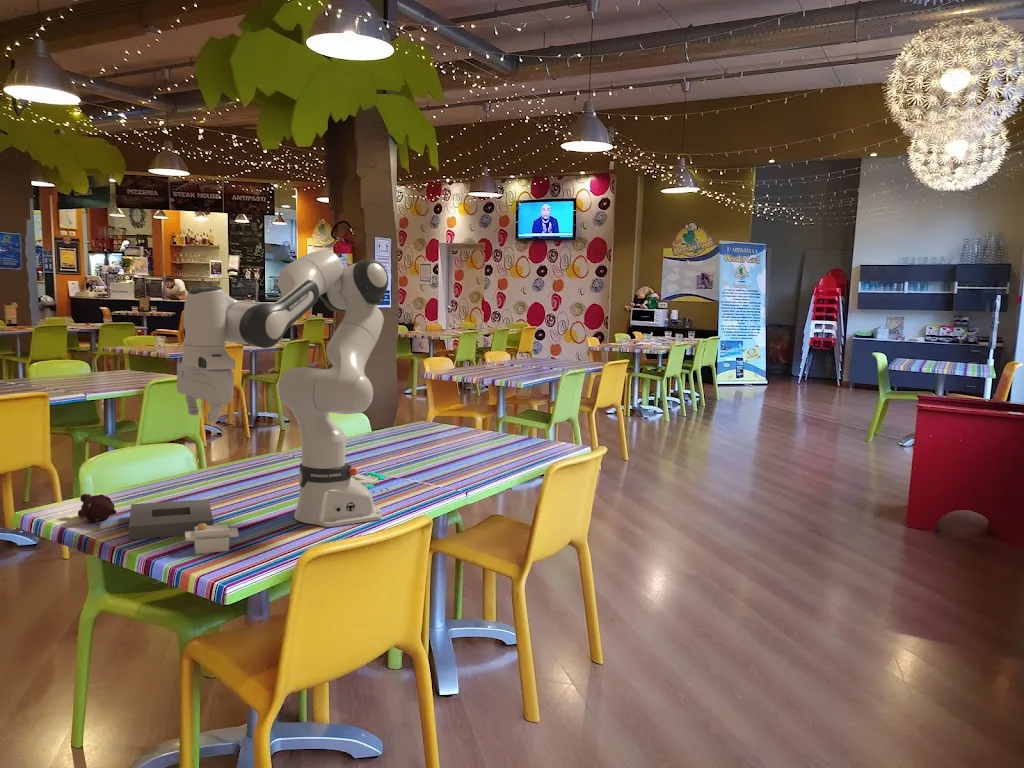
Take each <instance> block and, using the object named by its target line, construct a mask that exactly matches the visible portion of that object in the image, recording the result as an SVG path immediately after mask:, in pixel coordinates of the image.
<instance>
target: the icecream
mask: <svg viewBox="0 0 1024 768" xmlns="http://www.w3.org/2000/svg"><path fill="white" fill-rule="evenodd" d="M80 502H82V505H81V509H79V510H78V511H77V516H78V517H80V518H85V519H86V520H87V521H89V522H93V523H95V524H98V523H103V522H106V521H107V520H108V519H109V518H110V517H111V516H113V515H115V514H117V510H116V509H115V504H114V502H113V501H112V499H111V498H110V497H109V496H107V495H104V494H101V493H100V494H96V495H95V494H94V495H91V494H90V493H84V494H81V495H80Z"/></svg>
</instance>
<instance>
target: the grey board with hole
mask: <svg viewBox="0 0 1024 768" xmlns="http://www.w3.org/2000/svg"><path fill="white" fill-rule="evenodd" d="M129 514H130V515H129V521H128V541H131V539H136V540H144V539H147V538H148V539H156V538H155V537H160V538H169V537H170V536H172V537H181V536H184V537H185V532H188V531H195V527H198V524H201V523H205V524H207V526H211V525H214V517H213V512H212V509H211V503H210V499H206V498H205V499H191V500H176V501H160V502H159V501H158V502H145V503H131V505H130V512H129ZM166 536H168V537H166ZM148 539H147V540H148Z"/></svg>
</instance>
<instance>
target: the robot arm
mask: <svg viewBox="0 0 1024 768" xmlns="http://www.w3.org/2000/svg"><path fill="white" fill-rule="evenodd" d="M277 279H278V280H277V284H278V288H279V291H280V293H281V296H282V297H281V298H279V299H278V300H277V301H276V302H273V303H249V302H243V301H241V302H239V300H238V299H235V298H233V297H231V296H230V295H228V294H227V293H226V292H225V291H224V289H223V287H220V286H215V285H207V286H206V285H205V286H204V285H203V286H202V285H201V286H196V287H192V288H191V289H190V290H188V291H187V294H186V296H185V299H184V300H185V301H184V305H183V306H184V307H183V328H184V339H183V341H182V342H183V343H182V358H181V362H180V363H178V364H179V365H178V366H177V374H176V390H177V392H178V393H179V394H183V395H185V402H186V404H187V413H188V415H190V416H198V415H199V407H198V406H197V399H198V400H201V401H206V402H209V408H210V409H209V413H207V421H209V422H211V423H215V422H216V423H217V422H218V421H219V414H220V411H221V409H222V405H225V404H230V403H231V402H232V400H233V397H234V382H235V376H234V372H233V370H235V369H236V360H235V359H234V358H233V357H232V356H231V355H230V354H229V353H228V352H227V351H226V342H229V343H236V344H242V345H249V346H253V347H256V348H257V347H258V348H262V349H268V348H272V347H274V346H275V345H277V344H278V343H279V342H280V340H281V339H282V338H283V336H284V335H285V333H286V332H287V331H288V329H289V328H291V326H292V325H293V324H294V323H296V321H298V320H299V319H300V318H301V317H302V316H304V315H305V314H306V313H307V312H308V311H309V310H310V309H312V307H314V306H315V304H316V303H317V302H318V301H319V299H320V300H321V303H323V305H324V306H325V308H327V309H328V310H330V311H331V312H335V313H339V312H340V313H341V312H345V313H344V317H343V319H342V320H341V322H340V324H338V326H337V328H336V330H335V332H334V333H333V334H332V336H331V338H330V340H329V342H328V343H327V345H326V356H327V359H328V361H329V362H330V363H331V365H332V367H330V368H319V367H318V368H317V367H310V366H309V367H308V366H303V367H302V366H301V367H293V368H289V369H287V370H285V372H283V374H282V375H281V377H280V379H279V381H278V385H277V386H278V387H277V389H278V395H279V397H280V400H281V401H282V402H283V403H284V404H285V405H286V406H287V407H288V408H289V409H290V411H291V412H292V414H293V416H294V417H295V420H296V422H297V425H298V428H299V431H300V439H301V463H299V470H298V471H299V472H298V483H299V495H298V500H297V505H296V509H295V512H294V514H293V518H294V519H295V520H296V521H298V522H301V523H304V524H311V525H317V526H321V527H323V528H324V527H325V528H332V527H340V526H346V525H352V524H360V523H365V522H373V521H379V520H380V518H381V519H382V517H383V513H382V510H381V508H380V507H379V506H377V505H376V504H374V499H373V495H372V493H370V491H369V490H368V489H367V488H366V487H365V486H364V485H362V484H361V483H360V482H358V481H357V480H356V479H354V478H353V477H352V476H355V475H356V474H357V472H358V470H359V469H357V468H356V467H355V466H353V465H352V464H349V463H347V462H346V453H347V452H346V447H347V445H346V444H347V437H346V434H345V432H344V431H343V430H342V429H341V428H340V427H339V425H338V426H337V425H336V423H335V422H334V421H333V419H332V417H331V415H330V413H333V414H341V415H352V414H361V413H364V412H365V411H366V410H368V408H369V407H370V405H371V404H372V401H373V397H374V387H373V385H372V382H371V381H370V378H368V376H366V373H365V368H366V364H367V362H368V360H369V358H370V355H371V353H372V352H373V350H374V348H375V347H376V344H377V342H378V341H379V338H380V335H381V332H382V330H383V325H384V321H385V320H384V319H385V318H384V315H383V312H382V311H381V310H380V309H379V308H380V307H378V305H380V304H382V303H383V302H384V300H385V299H386V293H387V290H388V285H389V276H388V272H387V270H386V268H385V266H384V265H383V264H382V263H381V262H380V261H378V260H377V259H370V258H367V259H362V260H359V261H357V262H356V263H351V264H349V265H347V266H344V265H343V262H342V260H341V258H340V257H339V256H338V254H336V253H335V252H334V251H332V250H328V249H320V250H316V251H312V252H310V253H307V254H305V255H303V256H301V257H299V258H296V259H295V260H293V261H291V262H290V263H288V264H287V265H285V266H284V268H282V269H281V271H280V272H279V274H278V277H277Z"/></svg>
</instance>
